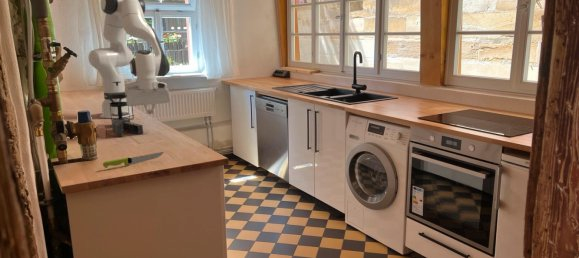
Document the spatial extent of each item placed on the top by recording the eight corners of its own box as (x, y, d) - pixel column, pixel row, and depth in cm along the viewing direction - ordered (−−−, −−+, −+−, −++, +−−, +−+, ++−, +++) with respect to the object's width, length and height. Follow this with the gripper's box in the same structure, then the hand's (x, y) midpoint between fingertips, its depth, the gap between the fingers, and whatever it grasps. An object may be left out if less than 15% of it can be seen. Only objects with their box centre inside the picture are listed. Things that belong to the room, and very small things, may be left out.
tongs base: (112, 129, 216) (111, 118, 215) (129, 127, 220) (128, 117, 218) (114, 137, 199) (113, 126, 198) (132, 135, 203) (131, 124, 201)
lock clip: (98, 133, 208) (97, 124, 207) (105, 133, 209) (104, 124, 208) (98, 138, 199) (97, 128, 198) (105, 137, 201) (104, 127, 200)
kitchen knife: (163, 158, 167) (163, 151, 166) (165, 159, 166) (164, 151, 165) (103, 170, 154) (102, 162, 153) (104, 170, 153) (103, 162, 152)
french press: (109, 128, 219) (105, 83, 214) (110, 124, 227) (105, 81, 222) (134, 126, 223) (130, 81, 218) (133, 122, 231) (129, 80, 226)
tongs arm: (123, 130, 213) (122, 122, 213) (128, 129, 215) (127, 121, 214) (138, 134, 204) (137, 126, 204) (143, 133, 206) (142, 125, 205)
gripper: (124, 87, 198) (127, 116, 201) (170, 84, 206) (172, 112, 209) (123, 85, 204) (126, 114, 207) (168, 82, 212) (170, 110, 215)
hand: (150, 113), depth 208 cm, fingers closed
